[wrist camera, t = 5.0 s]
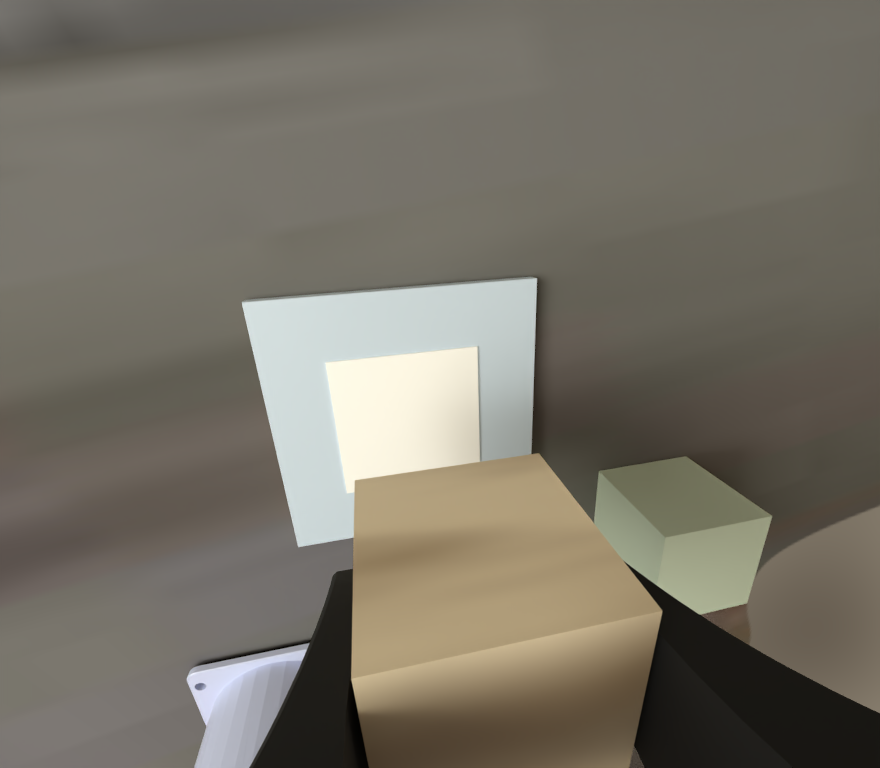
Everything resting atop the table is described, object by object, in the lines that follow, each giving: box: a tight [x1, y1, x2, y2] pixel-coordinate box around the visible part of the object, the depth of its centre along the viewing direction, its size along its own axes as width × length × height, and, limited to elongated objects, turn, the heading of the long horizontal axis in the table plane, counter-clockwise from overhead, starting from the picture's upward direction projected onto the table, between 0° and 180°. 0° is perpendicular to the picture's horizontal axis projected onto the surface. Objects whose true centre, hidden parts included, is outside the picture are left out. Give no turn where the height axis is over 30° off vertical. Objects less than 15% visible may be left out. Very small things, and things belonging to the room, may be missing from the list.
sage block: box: [594, 456, 772, 615], centre depth 20 cm, size 5×5×5 cm
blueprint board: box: [242, 277, 537, 547], centre depth 17 cm, size 11×11×1 cm
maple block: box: [351, 453, 662, 768], centre depth 10 cm, size 5×5×5 cm
